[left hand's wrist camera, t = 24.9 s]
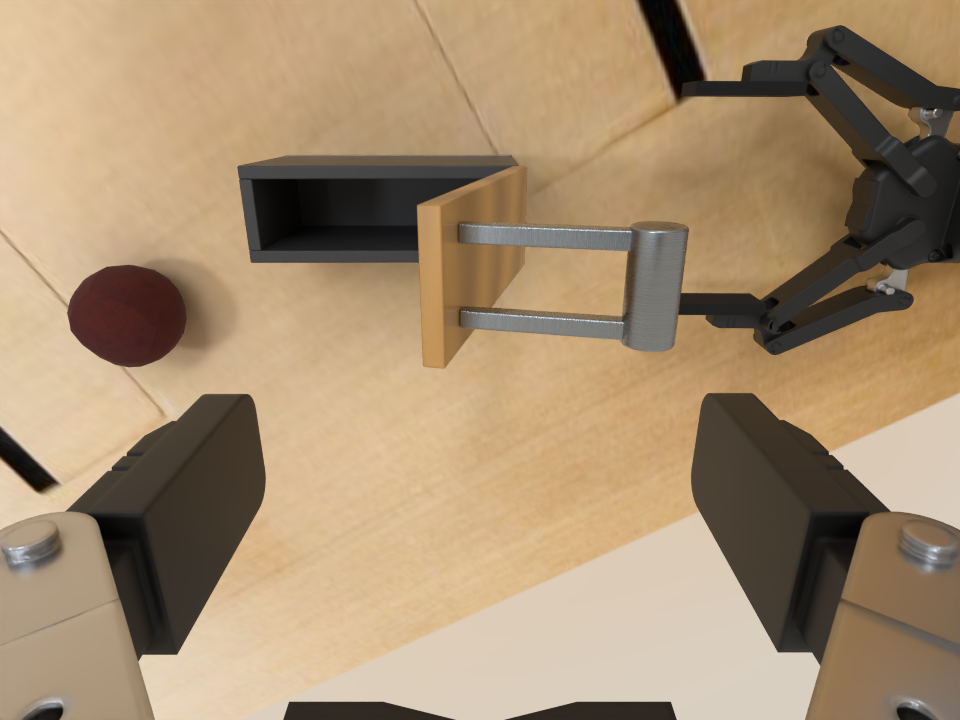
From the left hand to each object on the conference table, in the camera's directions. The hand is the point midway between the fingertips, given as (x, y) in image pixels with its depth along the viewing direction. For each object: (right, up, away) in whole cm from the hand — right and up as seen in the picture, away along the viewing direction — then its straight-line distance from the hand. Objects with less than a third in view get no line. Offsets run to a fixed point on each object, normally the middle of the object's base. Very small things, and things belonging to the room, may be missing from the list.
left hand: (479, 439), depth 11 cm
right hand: (+13, +12, +29) cm, 34 cm away
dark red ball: (-26, +6, +38) cm, 46 cm away
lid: (0, +7, +17) cm, 19 cm away
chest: (-6, +14, +35) cm, 38 cm away
